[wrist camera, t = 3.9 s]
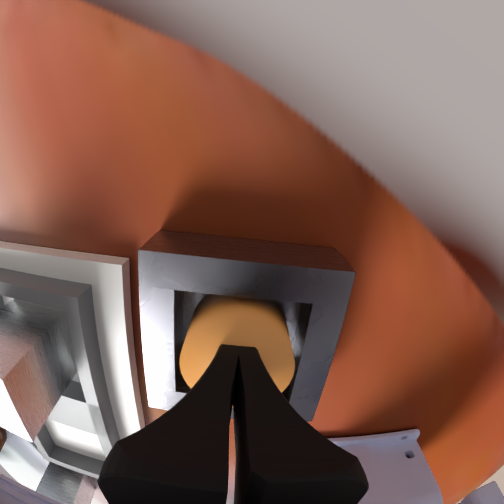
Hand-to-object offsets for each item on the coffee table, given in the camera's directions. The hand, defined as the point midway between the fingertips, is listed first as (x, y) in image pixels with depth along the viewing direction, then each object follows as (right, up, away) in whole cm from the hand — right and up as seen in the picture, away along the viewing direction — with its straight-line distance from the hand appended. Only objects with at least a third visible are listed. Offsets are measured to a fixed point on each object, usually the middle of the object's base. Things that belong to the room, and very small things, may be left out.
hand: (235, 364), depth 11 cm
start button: (0, +1, +3) cm, 3 cm away
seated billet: (-11, 0, +3) cm, 12 cm away
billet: (-17, -18, +10) cm, 27 cm away
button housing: (0, +1, +4) cm, 4 cm away
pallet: (-12, -4, +5) cm, 14 cm away
